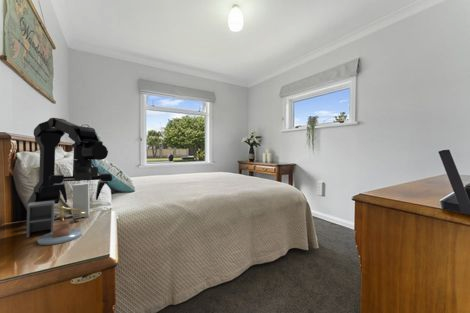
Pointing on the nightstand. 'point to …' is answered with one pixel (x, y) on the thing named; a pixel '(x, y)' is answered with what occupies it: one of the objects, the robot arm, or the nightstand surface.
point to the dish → (49, 239)
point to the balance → (63, 214)
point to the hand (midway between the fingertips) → (81, 201)
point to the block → (60, 228)
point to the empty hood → (40, 224)
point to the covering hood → (40, 209)
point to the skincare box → (81, 199)
